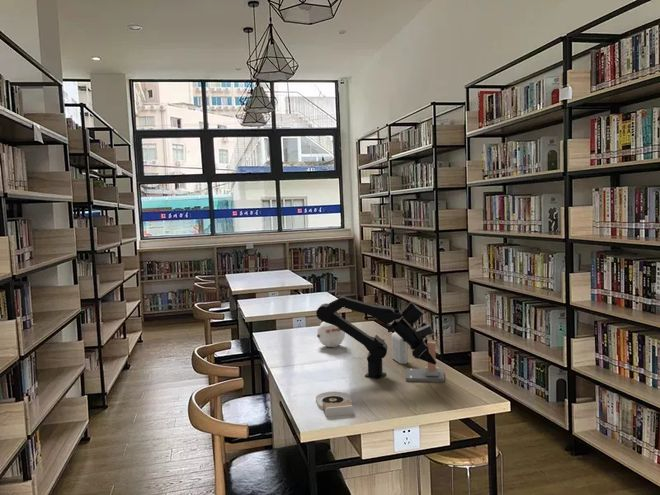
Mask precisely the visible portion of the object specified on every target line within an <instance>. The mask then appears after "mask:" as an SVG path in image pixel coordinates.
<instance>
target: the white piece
mask: <svg viewBox="0 0 660 495" xmlns="http://www.w3.org/2000/svg"><path fill="white" fill-rule="evenodd" d="M345 337H346V333H345V332H344V331H342V330H341V329H339V328H338V327H336V326H335V325H332V324H329V323H326V322H324V321H322V322H321V323H320V324H319V325H318V328H317V334H316V338H318V341H319V342H320V344H322V345H323V346H324V347H327V348H336V347H338V346H340V345H342V343H343V341H344V340H345Z"/></svg>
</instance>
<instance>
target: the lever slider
mask: <svg viewBox="0 0 660 495" xmlns="http://www.w3.org/2000/svg"><path fill="white" fill-rule="evenodd" d="M427 346H428V351H429V353H430V354H431V356H432V357H433V358H434V360H435V361H436V360H437V358H436V354H437V353H436V351H437V350H436V341H428V342H427ZM436 362H437V361H436ZM424 369H425V376H439V371H438V369H439V366H437V363H436V364H435V365H434V364H432V363H429V362H427V365H426V366H424Z"/></svg>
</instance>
